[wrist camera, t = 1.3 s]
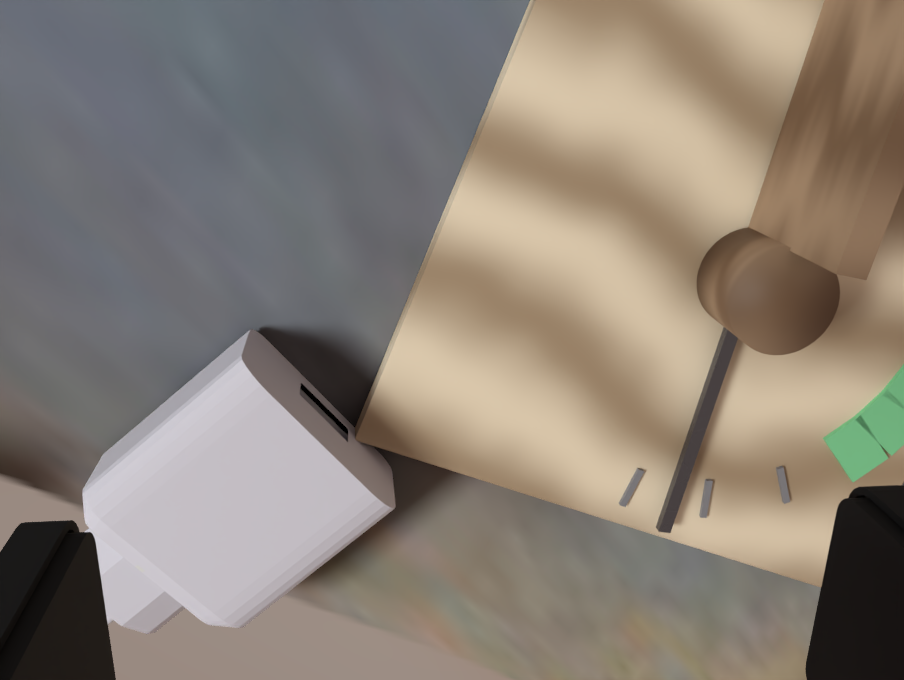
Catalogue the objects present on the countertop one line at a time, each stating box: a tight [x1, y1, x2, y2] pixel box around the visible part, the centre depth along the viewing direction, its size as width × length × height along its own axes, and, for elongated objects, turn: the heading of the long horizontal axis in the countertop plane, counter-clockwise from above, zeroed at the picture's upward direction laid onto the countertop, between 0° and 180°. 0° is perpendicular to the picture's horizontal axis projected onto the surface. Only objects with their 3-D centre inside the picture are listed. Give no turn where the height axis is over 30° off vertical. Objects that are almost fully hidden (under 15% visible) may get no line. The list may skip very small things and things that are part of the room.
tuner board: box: [355, 0, 904, 587], centre depth 37 cm, size 26×26×1 cm
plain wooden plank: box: [656, 0, 904, 533], centre depth 34 cm, size 24×4×7 cm, turn 168°
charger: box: [83, 329, 396, 634], centre depth 37 cm, size 5×9×15 cm
